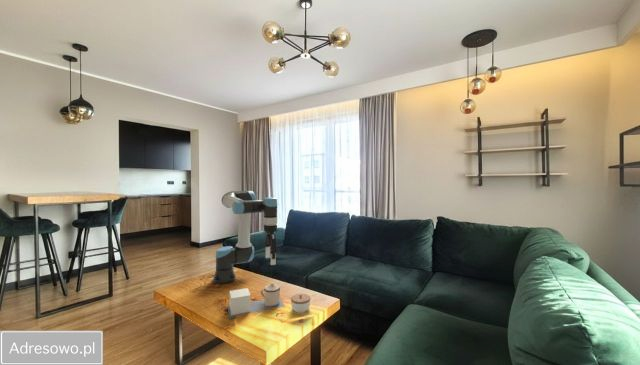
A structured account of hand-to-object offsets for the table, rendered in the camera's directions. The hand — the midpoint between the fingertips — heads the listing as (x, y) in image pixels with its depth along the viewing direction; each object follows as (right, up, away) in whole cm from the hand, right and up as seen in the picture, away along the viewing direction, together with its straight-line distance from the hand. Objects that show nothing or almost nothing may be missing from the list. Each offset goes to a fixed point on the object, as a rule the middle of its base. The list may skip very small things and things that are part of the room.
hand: (270, 261), depth 152 cm
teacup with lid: (0, -25, +1) cm, 25 cm away
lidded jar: (+18, -26, -6) cm, 32 cm away
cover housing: (-16, -25, -7) cm, 30 cm away
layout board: (-7, -26, -3) cm, 27 cm away
